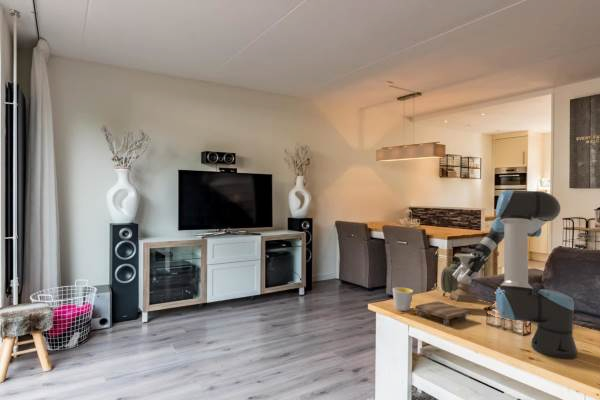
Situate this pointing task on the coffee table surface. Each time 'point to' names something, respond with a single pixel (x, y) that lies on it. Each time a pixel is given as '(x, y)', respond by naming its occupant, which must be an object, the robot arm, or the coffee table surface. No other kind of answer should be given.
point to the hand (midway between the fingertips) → (458, 278)
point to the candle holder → (464, 282)
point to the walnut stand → (442, 311)
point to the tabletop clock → (449, 278)
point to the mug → (402, 298)
